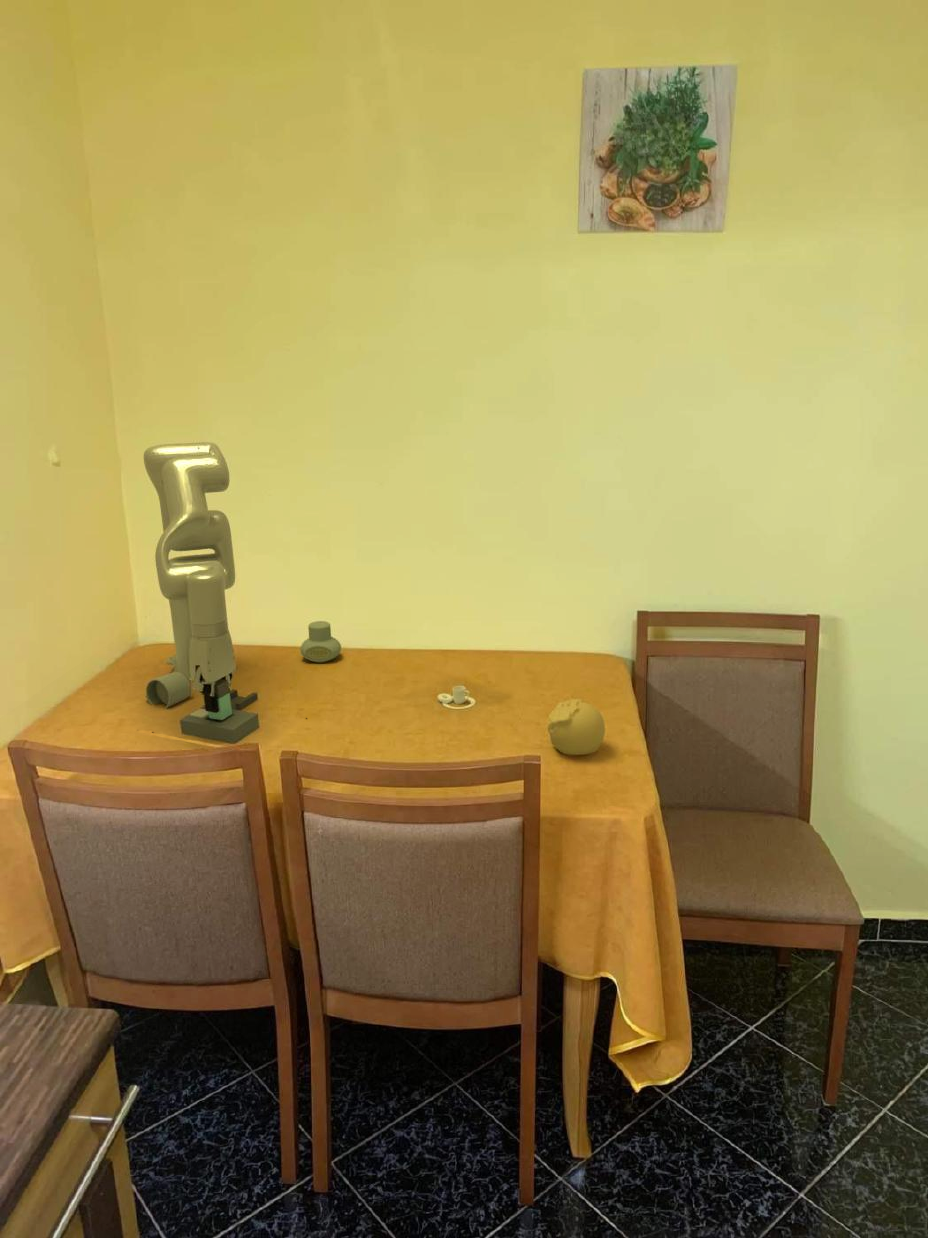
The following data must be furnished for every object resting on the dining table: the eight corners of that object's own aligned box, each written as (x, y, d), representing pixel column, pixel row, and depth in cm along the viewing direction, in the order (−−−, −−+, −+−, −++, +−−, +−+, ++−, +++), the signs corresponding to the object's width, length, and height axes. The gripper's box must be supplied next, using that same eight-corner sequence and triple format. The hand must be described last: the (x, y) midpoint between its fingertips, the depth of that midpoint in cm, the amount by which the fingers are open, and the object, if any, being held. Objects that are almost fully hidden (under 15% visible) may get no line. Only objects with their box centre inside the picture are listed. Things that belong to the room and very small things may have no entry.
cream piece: (432, 703, 208) (432, 688, 206) (455, 694, 213) (455, 678, 212) (459, 713, 202) (459, 697, 201) (482, 703, 207) (482, 687, 206)
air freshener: (298, 664, 233) (296, 629, 230) (304, 653, 240) (301, 619, 237) (339, 664, 233) (337, 628, 230) (343, 653, 241) (341, 619, 237)
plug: (209, 718, 189) (204, 684, 187) (219, 712, 193) (214, 678, 190) (222, 720, 188) (217, 685, 186) (232, 713, 191) (227, 680, 189)
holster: (215, 709, 205) (214, 699, 204) (233, 698, 211) (233, 689, 210) (240, 713, 202) (239, 704, 201) (258, 702, 208) (257, 693, 208)
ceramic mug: (195, 700, 210) (191, 670, 208) (171, 712, 203) (166, 682, 201) (163, 693, 215) (158, 664, 212) (137, 705, 208) (133, 675, 205)
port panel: (182, 736, 191) (179, 719, 189) (208, 720, 199) (206, 703, 197) (234, 747, 186) (232, 729, 184) (259, 730, 193) (257, 712, 192)
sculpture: (552, 734, 190) (553, 688, 187) (607, 740, 187) (609, 694, 183) (541, 757, 180) (542, 709, 176) (599, 764, 176) (601, 716, 173)
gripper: (219, 615, 193) (227, 692, 199) (169, 638, 179) (179, 720, 184) (247, 619, 190) (255, 696, 196) (198, 642, 176) (208, 725, 181)
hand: (218, 707), depth 190 cm, fingers closed on plug, 3 cm apart
